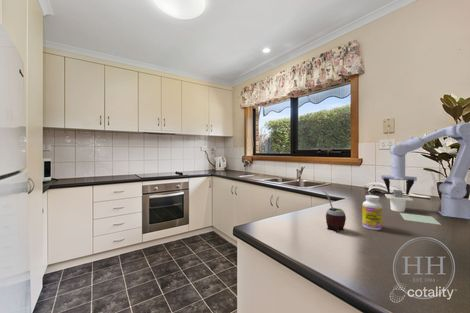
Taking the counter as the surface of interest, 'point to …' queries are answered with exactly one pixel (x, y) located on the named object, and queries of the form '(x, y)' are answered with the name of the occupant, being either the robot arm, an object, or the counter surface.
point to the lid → (398, 196)
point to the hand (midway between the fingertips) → (397, 193)
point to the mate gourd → (335, 218)
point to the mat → (419, 218)
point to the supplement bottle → (372, 213)
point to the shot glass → (397, 205)
